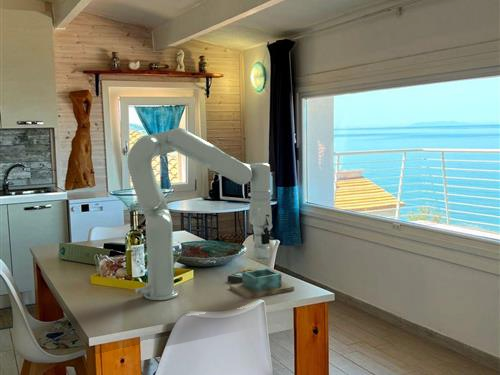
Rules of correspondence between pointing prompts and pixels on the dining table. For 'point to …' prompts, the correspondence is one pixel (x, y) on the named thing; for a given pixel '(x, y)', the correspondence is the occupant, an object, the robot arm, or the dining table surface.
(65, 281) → the dining table surface
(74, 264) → the dining table surface
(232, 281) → the electronic device
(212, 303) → the dining table surface
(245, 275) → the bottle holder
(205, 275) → the dining table surface
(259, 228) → the plastic bottle
